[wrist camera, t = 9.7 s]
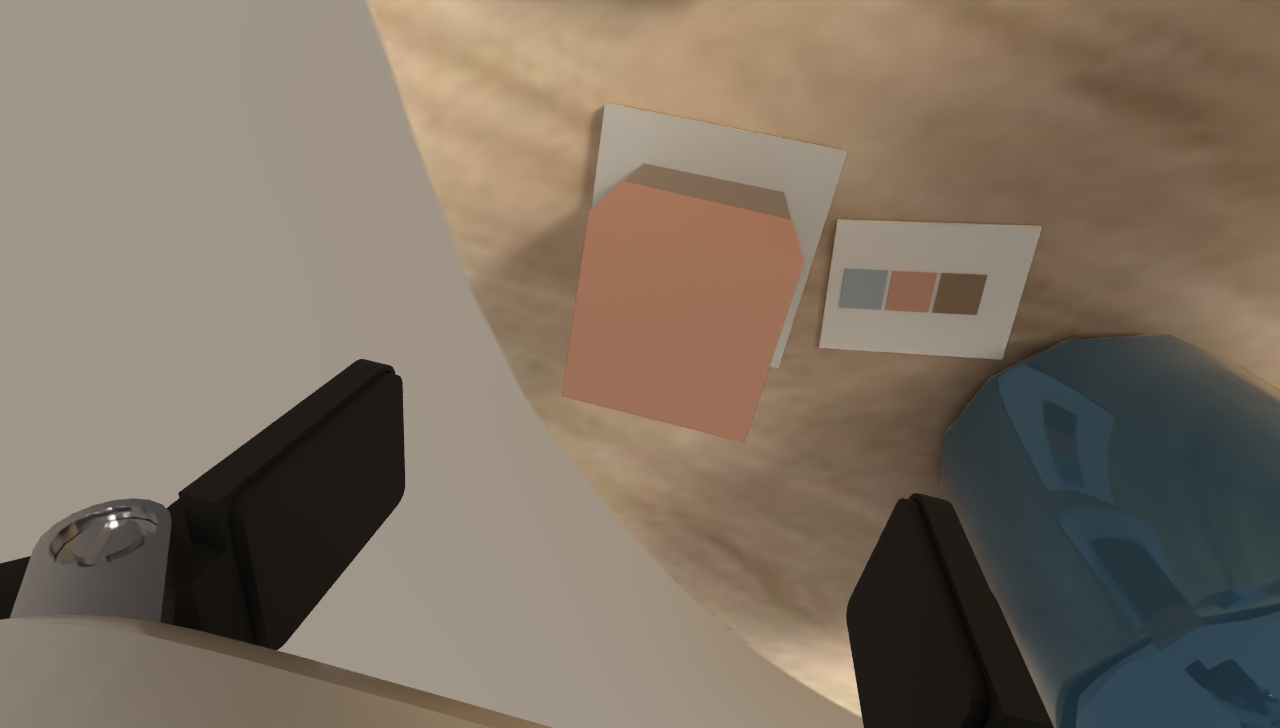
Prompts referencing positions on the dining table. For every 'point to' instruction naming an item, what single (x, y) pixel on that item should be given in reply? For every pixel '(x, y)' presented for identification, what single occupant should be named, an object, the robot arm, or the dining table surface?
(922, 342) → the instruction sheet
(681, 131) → the tower base
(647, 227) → the terracotta brick
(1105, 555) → the wine bottle
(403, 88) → the dining table surface
